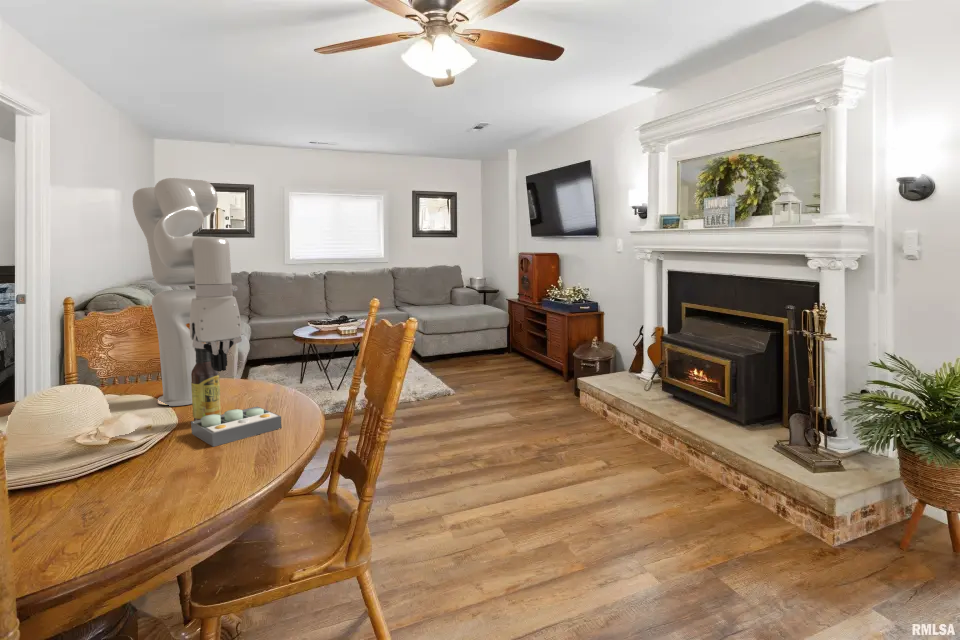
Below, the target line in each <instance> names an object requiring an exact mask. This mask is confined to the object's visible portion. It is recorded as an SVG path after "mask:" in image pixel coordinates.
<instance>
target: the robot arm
mask: <svg viewBox="0 0 960 640" xmlns="http://www.w3.org/2000/svg"><path fill="white" fill-rule="evenodd" d="M218 201H219V200H218V194H217V191H216V189H215V187H214V186H213V184H211V182H209V181H206V180H203V179H188V178H178V177H168V178H163V179H161V180H159V181H158V182H157V183H156V184H155V186H154V187H153V186H151V187H141V188H139V189H136V191H135V192H134V193H133V195H132V208H133V212H134V217H135V219H136V221H137V223H138V226H139V227H140V229H141V231H142V232H143V234H144V236H145V239H146V242H147V248H148V253H149V261H150V267H151V272H152V276H153V278H154V282H155V283H156V284H157V285H159V286H162V287H189V286H190V287H192V286H193V287H195V288H194V289H193V288H192V289H191V288H190V289H187V288H186V289H185V288H183V289H169V290H162V291H160V292H158V293H156V294H155V295H154V296H153V297H152V300H151V310H152V314H153V318H154V322H155V326H156V330H157V331H156V333H157V339H158V351H159V359H160V360H159V361H160V370H161V371H160V372H161V383H162V395H161V396H159V397H158V398H157V400H159V401H161V402H163V403H165V404H167V405H169V406H168V407H180V406H188V405H189V406H190V405H192V387H191V382H192V377H191V373H192V370H193V368H194V366H195V364H196V351H195V348H199V349H205V350H206V351H207V352H208V353H210V355H211V366H212V368H213V370H215V371H217V372H224V371H227V366H228V356H227V355H228V353H229V350H230V349H231V348H232V347H233V345H236V344H239V343H241V342H242V337H241V336H242V320H241V314H240V309H239V304H238V302H237V298H236V296H233V295H234V292H237V291H238V290H239V288H238V286H237V285H233V281H232V268H231V267H232V266H231V265H232V264H231V251H230V249H231V247H230V243H229V240H228V239H227V238H224V237H221V236H220V237H218V236H217V237H216V236H197V235H196V236H193V235H191V234H193V233H194V232H197V231H198V230H199V229H200V228H201V227H202V226H203V224H204V220H205V218H207V217H208V216H209V215H211V214H213V213H214V212H215V210H216V209H217V206H218ZM187 235H189V236H187ZM187 324H189V327H188V326H187ZM217 342H218V345H217ZM157 400H156V401H157Z"/></svg>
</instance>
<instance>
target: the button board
mask: <svg viewBox="0 0 960 640" xmlns="http://www.w3.org/2000/svg"><path fill="white" fill-rule="evenodd" d="M255 408H261V409H264V414H260V415H256V416H252V417H249V416H247V415H246V411H247V410H250V409H255ZM241 410H242V411H243V419H240V420H235V421H231V422H226V421H225V417H224V413H223V414H222V413H221V415H220V416H221V424H219V425H215V426H211V427H207V428H204V427H202V422H201V420H196V421H194V420H192V421H190V425H191V434H192V435H193V436H194V437H196V438H197V439H200V440H202V441H203V442H205V443H206V444H208V445H209V446H211V447H217V446H222V445H225V444H228V443H233V442H235V441H240V440H244V439H247V438H251V437H254V436H259V435H262V434H265V433H268V432H273V431H276V429H277V430H280V429H279V428H281V429H282V416H281V415H278V414H277V413H275V412H272V411H269V410H267V409H265V408H262V407H260V406H258V405H257V406H253V407H249V408H244V409H241Z"/></svg>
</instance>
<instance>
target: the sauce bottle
mask: <svg viewBox="0 0 960 640" xmlns="http://www.w3.org/2000/svg"><path fill="white" fill-rule="evenodd" d="M195 351H196V364H195V366H194V368H193V370H192V373H191V377H192V382H191V387H192V404H191V405H192V417H193V421H196V420H201V418H202V417H204V416H207V415H214V414H216V415H222V410H221V408H222V405H221V385H220V374H219V373H218V371H215V370H213V368H212V366H211V355H210V353H208V352H207V351H206V350H205V349H199V348H195Z"/></svg>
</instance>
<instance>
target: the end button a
mask: <svg viewBox="0 0 960 640" xmlns="http://www.w3.org/2000/svg"><path fill="white" fill-rule="evenodd" d="M201 422H202V427H204V428H207V427H211V426H215V425H219V424H221V416H220V415H216V414H214V415H207V416H204V417H202V418H201Z"/></svg>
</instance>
